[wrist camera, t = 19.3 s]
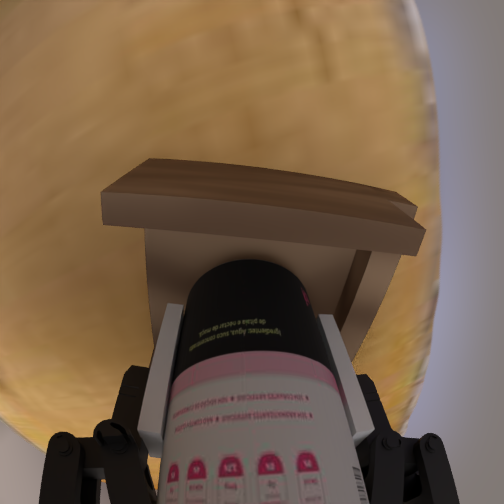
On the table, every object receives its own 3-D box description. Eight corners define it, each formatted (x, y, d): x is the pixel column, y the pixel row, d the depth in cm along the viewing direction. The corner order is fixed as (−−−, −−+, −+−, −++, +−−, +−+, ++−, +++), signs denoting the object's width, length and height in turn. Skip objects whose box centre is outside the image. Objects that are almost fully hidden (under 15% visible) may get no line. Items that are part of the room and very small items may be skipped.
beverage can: (305, 340, 17) (358, 581, 4) (201, 350, 17) (190, 593, 4) (307, 247, 14) (425, 597, 1) (175, 261, 14) (109, 613, 1)
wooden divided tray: (149, 158, 14) (100, 192, 8) (395, 192, 15) (457, 235, 10) (170, 423, 26) (164, 469, 21) (295, 428, 28) (302, 472, 23)
